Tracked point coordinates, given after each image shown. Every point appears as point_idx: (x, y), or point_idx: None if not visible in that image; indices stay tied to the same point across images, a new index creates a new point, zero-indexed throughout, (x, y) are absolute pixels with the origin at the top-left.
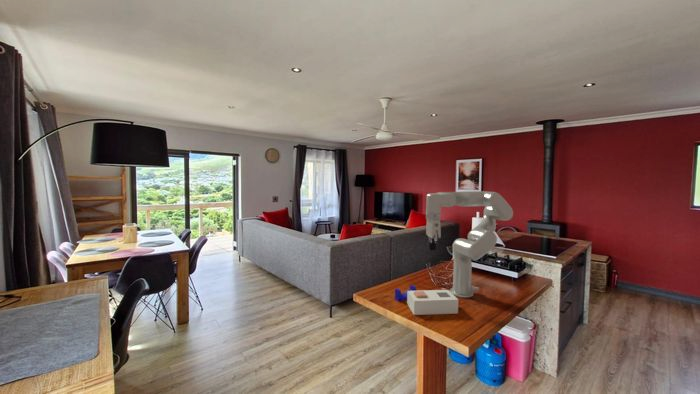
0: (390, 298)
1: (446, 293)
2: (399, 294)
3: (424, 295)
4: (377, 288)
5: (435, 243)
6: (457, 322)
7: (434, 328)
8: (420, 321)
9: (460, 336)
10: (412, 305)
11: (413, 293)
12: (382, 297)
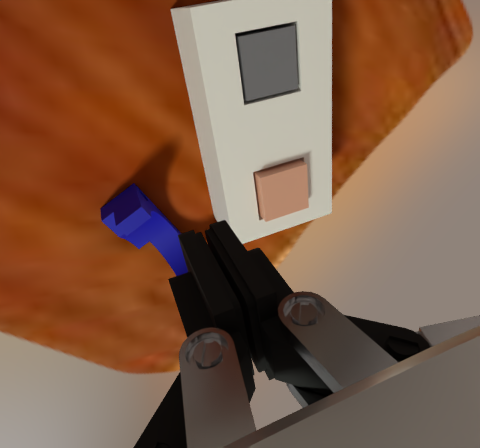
0: None
1: (251, 38)
2: None
3: (306, 175)
4: (74, 345)
5: (271, 288)
6: (361, 21)
7: (384, 125)
8: (342, 168)
9: (437, 42)
10: None
11: (261, 219)
12: (169, 307)
